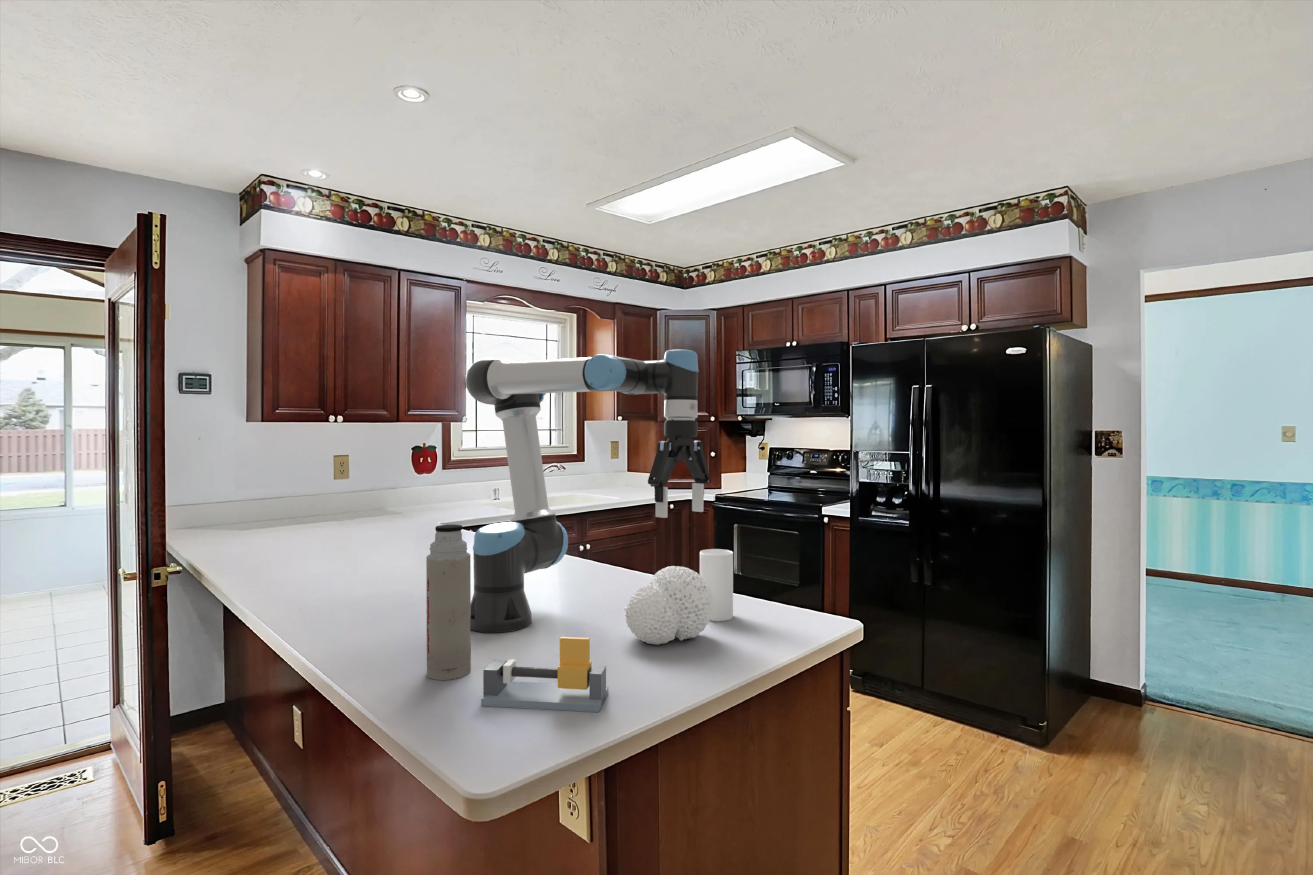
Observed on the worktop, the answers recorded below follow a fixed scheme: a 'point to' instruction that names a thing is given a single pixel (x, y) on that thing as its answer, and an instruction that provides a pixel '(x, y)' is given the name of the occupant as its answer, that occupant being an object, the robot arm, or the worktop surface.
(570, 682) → the yellow sliding carriage
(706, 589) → the white coral
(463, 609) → the thermos bottle
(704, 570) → the cup
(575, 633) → the worktop surface
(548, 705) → the rail rig
